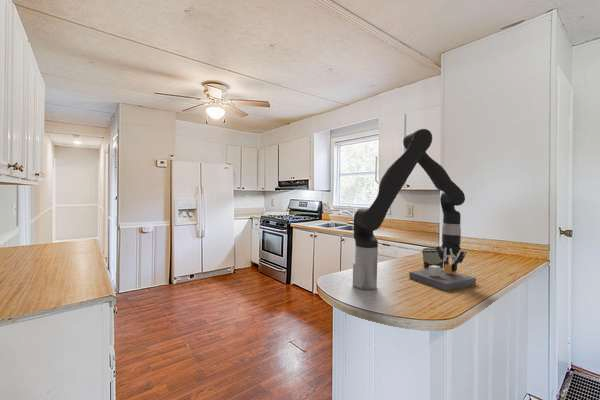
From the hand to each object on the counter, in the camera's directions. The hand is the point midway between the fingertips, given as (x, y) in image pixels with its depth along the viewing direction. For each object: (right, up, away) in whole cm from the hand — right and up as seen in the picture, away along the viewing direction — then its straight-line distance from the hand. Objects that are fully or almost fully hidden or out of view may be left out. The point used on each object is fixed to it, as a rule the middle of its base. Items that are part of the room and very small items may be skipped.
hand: (450, 270), depth 128 cm
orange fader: (0, -1, 0) cm, 1 cm away
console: (-5, -5, -2) cm, 7 cm away
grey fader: (-9, -1, -4) cm, 10 cm away
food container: (+2, -4, +24) cm, 24 cm away
